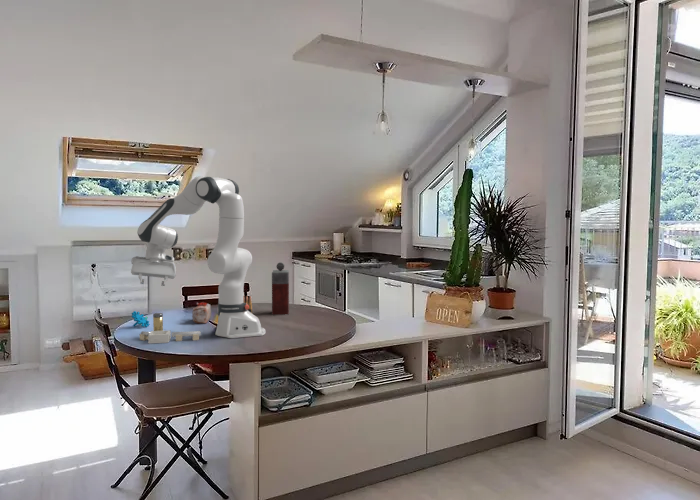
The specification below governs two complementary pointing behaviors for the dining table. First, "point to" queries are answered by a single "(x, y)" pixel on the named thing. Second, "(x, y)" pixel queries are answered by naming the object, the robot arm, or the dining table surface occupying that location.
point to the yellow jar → (158, 322)
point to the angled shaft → (144, 335)
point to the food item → (201, 313)
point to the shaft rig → (166, 336)
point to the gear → (140, 319)
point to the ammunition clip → (248, 303)
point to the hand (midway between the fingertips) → (152, 284)
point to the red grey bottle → (280, 290)
